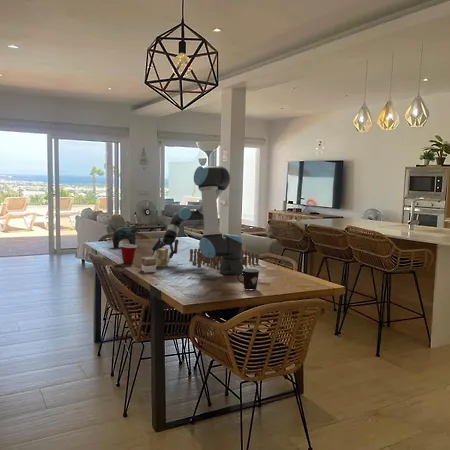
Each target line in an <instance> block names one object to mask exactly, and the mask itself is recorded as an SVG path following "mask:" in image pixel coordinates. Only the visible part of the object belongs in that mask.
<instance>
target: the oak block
mask: <svg viewBox="0 0 450 450" xmlns="http://www.w3.org/2000/svg"><path fill="white" fill-rule="evenodd" d="M168 255H169V248H164V247H162V248H160V249H157V256H156V267H157V266H158V267H159V268H166V267H168V265H169V263H167V261H166V260H167V257H168ZM158 267H157V268H158Z"/></svg>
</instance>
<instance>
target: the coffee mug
mask: <svg viewBox="0 0 450 450" xmlns="http://www.w3.org/2000/svg"><path fill="white" fill-rule="evenodd" d="M259 273H260V270H259V269H258V268H257V269H256V268H252V267H251V268H244V269H243V274H242V273H240V274H238V275H237V277H236V279H237V281H238V282H240V283H241V284H243V289H244V288H245V289H256V290H257V286H258V282H259V281H258V279H259ZM240 275H241V276H242V279H243V281H241V280H240V279H239V276H240ZM245 289H244V290H245Z"/></svg>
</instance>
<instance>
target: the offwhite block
mask: <svg viewBox="0 0 450 450" xmlns="http://www.w3.org/2000/svg"><path fill="white" fill-rule="evenodd" d="M141 271H142V272H143V271H144V272H143V273H157V272H156V271H157V264H156V265H153V266H144V265H142V264H141Z"/></svg>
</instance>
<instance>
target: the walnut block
mask: <svg viewBox="0 0 450 450" xmlns="http://www.w3.org/2000/svg"><path fill="white" fill-rule="evenodd" d="M140 263H141V266H142V265H144V266H153V265H156V266H157V257H156V258H153V256H145V257H141V262H140Z"/></svg>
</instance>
